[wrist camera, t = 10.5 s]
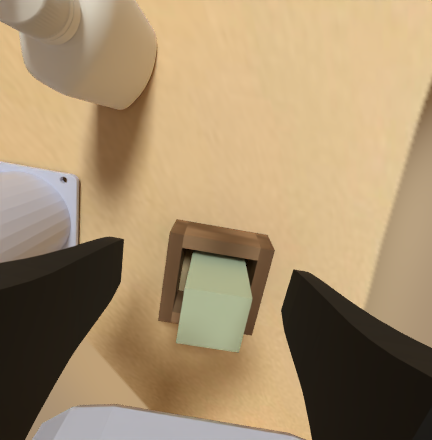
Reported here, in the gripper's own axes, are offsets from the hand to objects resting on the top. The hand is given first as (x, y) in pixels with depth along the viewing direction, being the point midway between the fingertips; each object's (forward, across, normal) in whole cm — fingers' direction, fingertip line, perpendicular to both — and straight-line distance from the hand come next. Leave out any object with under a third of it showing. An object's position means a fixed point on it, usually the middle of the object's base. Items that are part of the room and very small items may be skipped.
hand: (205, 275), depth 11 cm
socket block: (+10, -1, +5) cm, 12 cm away
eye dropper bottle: (+10, +8, -9) cm, 16 cm away
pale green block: (+10, -1, +5) cm, 12 cm away
